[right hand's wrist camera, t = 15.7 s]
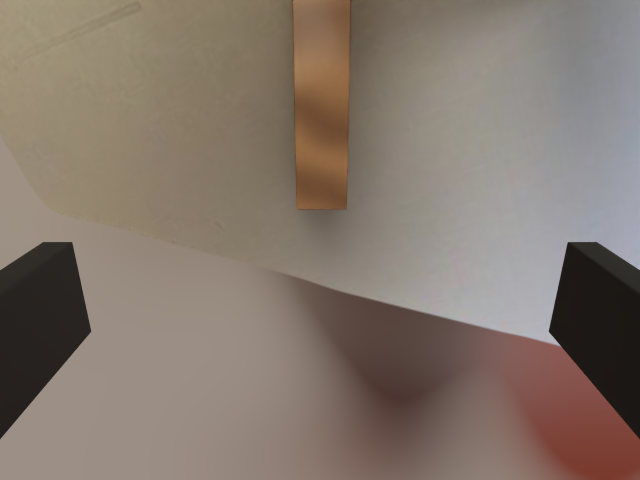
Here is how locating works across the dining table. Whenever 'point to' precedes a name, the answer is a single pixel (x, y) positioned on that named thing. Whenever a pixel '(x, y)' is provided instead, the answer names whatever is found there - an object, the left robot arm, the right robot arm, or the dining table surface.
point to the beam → (321, 101)
